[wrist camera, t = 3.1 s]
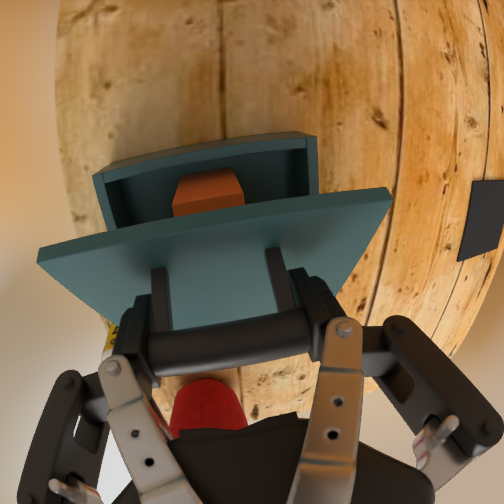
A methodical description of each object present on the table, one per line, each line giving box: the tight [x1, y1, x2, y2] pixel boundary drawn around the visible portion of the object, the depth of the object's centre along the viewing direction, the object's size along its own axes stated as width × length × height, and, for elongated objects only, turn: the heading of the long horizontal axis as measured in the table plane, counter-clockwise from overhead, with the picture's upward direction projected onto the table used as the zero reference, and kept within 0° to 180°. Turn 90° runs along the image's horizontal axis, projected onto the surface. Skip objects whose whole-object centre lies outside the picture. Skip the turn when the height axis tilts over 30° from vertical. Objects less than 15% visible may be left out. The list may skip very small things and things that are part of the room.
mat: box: [457, 180, 504, 262], centre depth 30 cm, size 12×12×1 cm
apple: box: [169, 378, 248, 438], centre depth 29 cm, size 10×10×14 cm
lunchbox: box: [92, 131, 319, 231], centre depth 23 cm, size 16×16×4 cm
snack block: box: [172, 167, 245, 217], centre depth 19 cm, size 5×4×7 cm
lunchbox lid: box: [37, 187, 393, 377], centre depth 16 cm, size 16×16×5 cm
